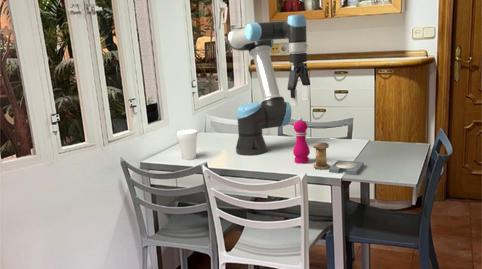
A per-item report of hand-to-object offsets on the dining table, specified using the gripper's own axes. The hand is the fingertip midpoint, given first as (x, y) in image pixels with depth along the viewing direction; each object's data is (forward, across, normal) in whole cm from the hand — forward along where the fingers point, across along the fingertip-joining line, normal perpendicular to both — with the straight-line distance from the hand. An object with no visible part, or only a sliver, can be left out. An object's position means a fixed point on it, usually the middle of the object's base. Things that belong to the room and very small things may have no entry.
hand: (299, 102), depth 199 cm
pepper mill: (+26, 0, 0) cm, 27 cm away
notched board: (+26, -5, -21) cm, 34 cm away
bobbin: (+26, -6, -11) cm, 29 cm away
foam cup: (+26, -9, +54) cm, 61 cm away
